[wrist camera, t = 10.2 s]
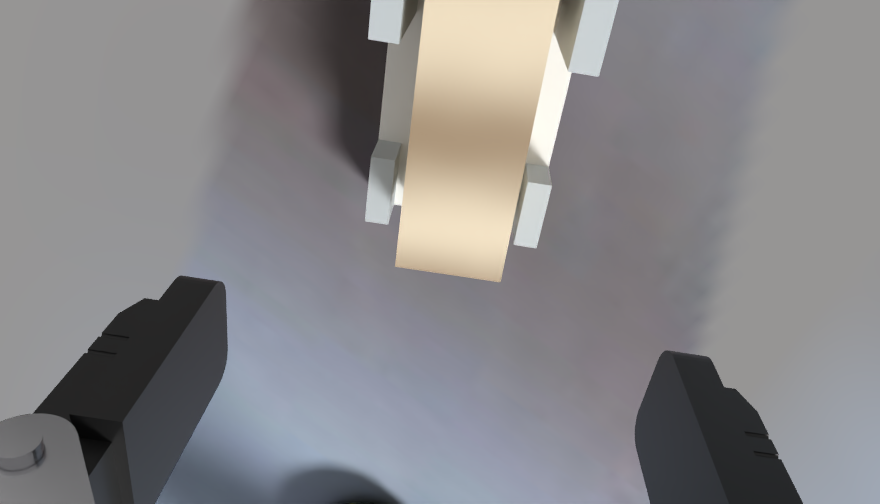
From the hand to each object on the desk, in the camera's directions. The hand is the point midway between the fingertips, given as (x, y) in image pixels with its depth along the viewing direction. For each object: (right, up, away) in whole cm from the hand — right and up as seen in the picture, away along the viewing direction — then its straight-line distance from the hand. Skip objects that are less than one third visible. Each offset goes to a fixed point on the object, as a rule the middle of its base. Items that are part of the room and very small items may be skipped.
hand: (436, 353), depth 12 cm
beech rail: (+1, +9, +15) cm, 17 cm away
